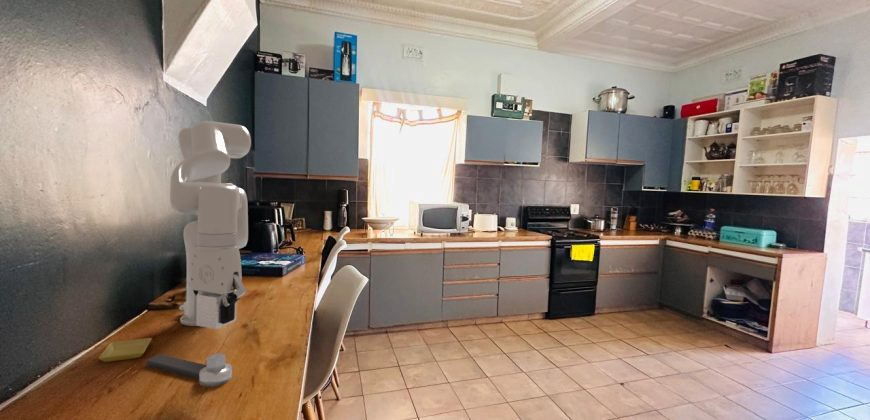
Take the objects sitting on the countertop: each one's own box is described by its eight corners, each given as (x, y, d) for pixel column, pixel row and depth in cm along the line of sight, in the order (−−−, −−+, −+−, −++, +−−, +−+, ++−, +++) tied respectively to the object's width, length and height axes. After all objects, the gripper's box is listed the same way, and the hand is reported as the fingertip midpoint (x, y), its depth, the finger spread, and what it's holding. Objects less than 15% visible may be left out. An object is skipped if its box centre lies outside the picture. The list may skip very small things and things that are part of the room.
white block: (196, 325, 79) (196, 294, 78) (217, 317, 84) (217, 288, 83) (216, 329, 77) (216, 297, 77) (236, 320, 82) (236, 290, 82)
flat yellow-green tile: (143, 360, 88) (143, 351, 88) (97, 366, 85) (97, 357, 84) (152, 345, 96) (152, 337, 96) (110, 350, 92) (110, 342, 92)
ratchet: (139, 369, 84) (139, 347, 83) (166, 357, 90) (166, 336, 89) (215, 389, 78) (215, 365, 77) (238, 374, 84) (238, 352, 84)
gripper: (171, 239, 78) (171, 319, 79) (235, 246, 74) (234, 332, 75) (202, 234, 85) (201, 309, 86) (262, 241, 81) (260, 319, 82)
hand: (216, 318), depth 81 cm, fingers closed on white block, 5 cm apart
